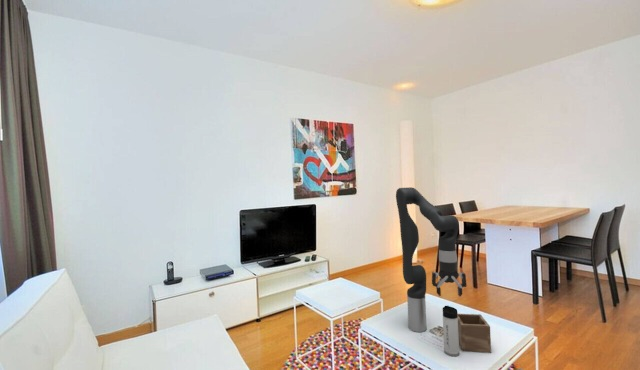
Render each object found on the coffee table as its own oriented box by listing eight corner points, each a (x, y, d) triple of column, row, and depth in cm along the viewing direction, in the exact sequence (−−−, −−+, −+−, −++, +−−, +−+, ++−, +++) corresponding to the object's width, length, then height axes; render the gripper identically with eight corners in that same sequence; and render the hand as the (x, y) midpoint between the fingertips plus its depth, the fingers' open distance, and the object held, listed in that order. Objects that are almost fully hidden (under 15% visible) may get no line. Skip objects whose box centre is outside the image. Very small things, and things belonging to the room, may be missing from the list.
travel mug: (454, 348, 136) (452, 305, 137) (462, 356, 130) (460, 311, 130) (441, 348, 136) (439, 305, 136) (448, 357, 130) (446, 311, 130)
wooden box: (455, 337, 145) (454, 313, 146) (481, 339, 143) (480, 314, 143) (462, 351, 134) (461, 324, 134) (491, 352, 131) (490, 326, 131)
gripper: (462, 257, 135) (463, 293, 135) (429, 257, 138) (431, 292, 138) (467, 262, 128) (468, 299, 128) (432, 261, 131) (434, 298, 130)
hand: (449, 295), depth 133 cm, fingers open, 8 cm apart
